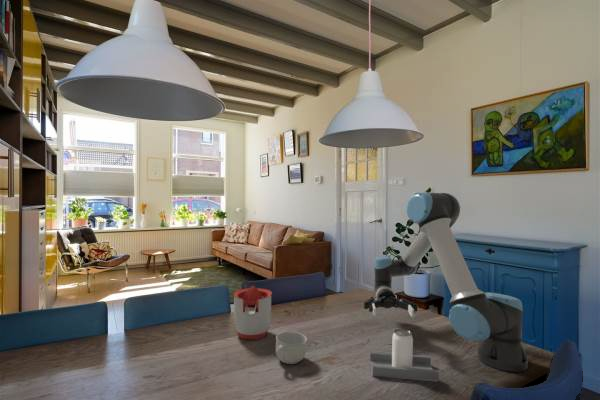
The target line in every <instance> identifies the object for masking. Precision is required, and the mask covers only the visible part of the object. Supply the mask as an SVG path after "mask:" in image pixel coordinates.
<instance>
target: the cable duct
mask: <svg viewBox="0 0 600 400" xmlns="http://www.w3.org/2000/svg"><path fill="white" fill-rule="evenodd" d="M431 359H432V358H431V356H430V355H417V354H413V365H412V368H403V367H392V352H376V351H370V352H369V362H370V369H371V374H372V378H373V377H375V378H387V379H398V380H399V379H401V380H410V381H411V380H412V381H422V382H423V381H424V382H437V383H438V382H439V379H440V377H439V376H440V371H439V370H438V369H433V367H432V365H431V363H432V361H431Z"/></svg>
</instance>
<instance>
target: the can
mask: <svg viewBox="0 0 600 400" xmlns="http://www.w3.org/2000/svg"><path fill="white" fill-rule="evenodd" d="M391 338H392V339H391V342H392V344H391V345H392V346H391V349H392V350H391V353H392V367H403V368H412V365H413V355H414V354H413V353H414V352H413V351H414V338H413V335H412V332H411V331H410V330H407V329H404V328H403V329H402V328H398V329H394V330H393V334H392V337H391Z"/></svg>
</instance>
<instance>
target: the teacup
mask: <svg viewBox="0 0 600 400" xmlns="http://www.w3.org/2000/svg"><path fill="white" fill-rule="evenodd" d="M275 339H276V340H275V355H276V357H277V358H278V359H279V360H280V361H281V362H282V363H283V364H286V365H295V364H296V365H297V364H298V363H299V362H300V361H303V359H304V358H305V357H306V352H307V342H308V338H307V336H306V335H304V334H303V333H300V332H297V331H281V332H279V333H278V334H277V335H275Z"/></svg>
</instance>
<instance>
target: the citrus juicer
mask: <svg viewBox="0 0 600 400" xmlns="http://www.w3.org/2000/svg"><path fill="white" fill-rule="evenodd" d="M272 295H273V292H272V291H271V290H270V289H266V288H259V287H256V286H255V285H251V287H249V288H243V289H239V290H236V291H234V292H233V322H234V326H235V330H236V333H237V336H238V337H239V338H241V339H244V340H258V339H259V340H261V339H262V338H264V337H266V336H267V333H268V331H269V327H270V324H271V320H272V319H271V318H272Z"/></svg>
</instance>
